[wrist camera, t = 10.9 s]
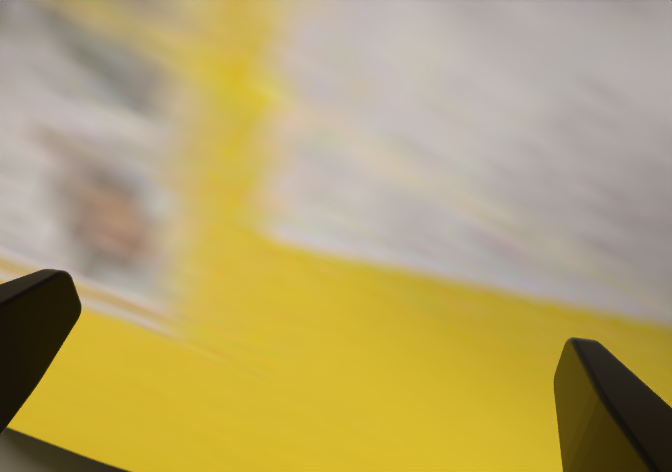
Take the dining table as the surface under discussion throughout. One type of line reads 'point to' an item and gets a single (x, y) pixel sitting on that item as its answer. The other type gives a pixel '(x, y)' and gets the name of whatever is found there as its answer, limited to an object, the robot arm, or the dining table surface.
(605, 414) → the robot arm
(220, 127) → the dining table surface
